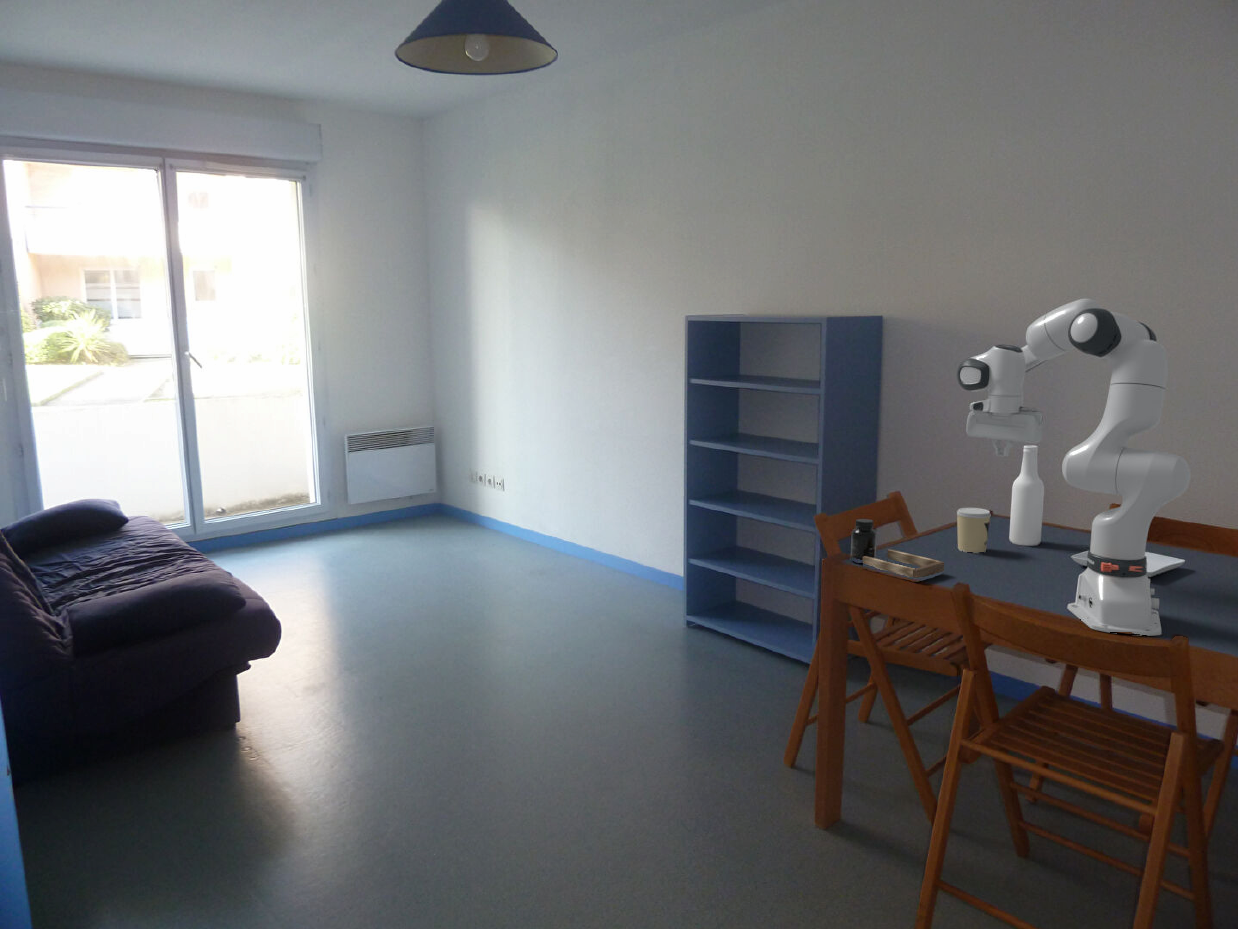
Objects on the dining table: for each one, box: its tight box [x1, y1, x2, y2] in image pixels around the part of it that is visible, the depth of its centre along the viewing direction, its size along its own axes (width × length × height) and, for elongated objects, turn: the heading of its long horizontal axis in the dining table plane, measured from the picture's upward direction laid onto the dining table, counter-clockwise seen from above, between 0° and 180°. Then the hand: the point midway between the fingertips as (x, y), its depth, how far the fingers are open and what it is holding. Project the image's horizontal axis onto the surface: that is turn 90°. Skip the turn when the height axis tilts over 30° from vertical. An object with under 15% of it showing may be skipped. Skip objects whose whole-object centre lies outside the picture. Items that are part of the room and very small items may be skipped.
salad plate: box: [1070, 550, 1186, 578], centre depth 239 cm, size 21×21×3 cm
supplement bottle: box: [850, 518, 877, 560], centre depth 248 cm, size 7×7×12 cm
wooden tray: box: [863, 549, 945, 578], centre depth 238 cm, size 17×12×4 cm
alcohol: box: [1008, 444, 1045, 547], centre depth 264 cm, size 9×9×30 cm
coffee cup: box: [956, 507, 992, 554], centre depth 258 cm, size 9×9×12 cm
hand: (1002, 456), depth 237 cm, fingers closed
